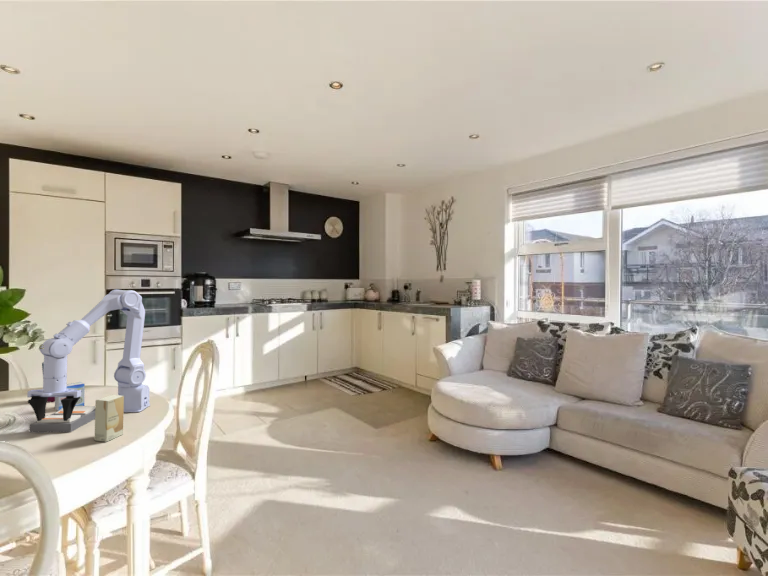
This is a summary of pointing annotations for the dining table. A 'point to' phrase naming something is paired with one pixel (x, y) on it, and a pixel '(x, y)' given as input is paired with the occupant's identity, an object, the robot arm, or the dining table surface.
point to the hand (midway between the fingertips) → (53, 419)
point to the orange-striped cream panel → (78, 410)
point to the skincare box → (109, 417)
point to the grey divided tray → (61, 424)
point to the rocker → (57, 419)
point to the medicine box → (76, 387)
